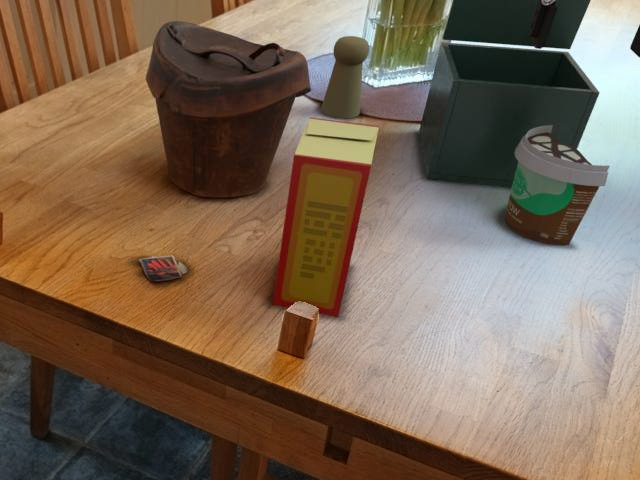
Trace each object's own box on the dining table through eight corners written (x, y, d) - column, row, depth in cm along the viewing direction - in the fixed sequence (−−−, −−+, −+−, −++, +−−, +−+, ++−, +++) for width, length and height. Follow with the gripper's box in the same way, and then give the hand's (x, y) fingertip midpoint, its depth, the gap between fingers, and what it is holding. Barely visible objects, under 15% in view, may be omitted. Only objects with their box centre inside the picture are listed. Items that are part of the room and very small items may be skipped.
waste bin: (559, 192, 93) (600, 92, 84) (426, 178, 95) (453, 80, 87) (535, 142, 105) (568, 51, 97) (418, 131, 108) (441, 42, 100)
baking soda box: (338, 316, 70) (371, 162, 60) (272, 304, 72) (294, 151, 62) (348, 268, 77) (379, 122, 67) (288, 257, 79) (310, 113, 69)
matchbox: (154, 286, 74) (154, 282, 73) (131, 262, 77) (131, 258, 77) (193, 275, 75) (193, 271, 75) (169, 252, 79) (170, 248, 79)
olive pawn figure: (330, 101, 117) (343, 29, 110) (365, 110, 114) (380, 37, 107) (314, 112, 113) (326, 38, 106) (350, 121, 110) (364, 46, 104)
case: (315, 205, 89) (341, 53, 77) (155, 215, 86) (158, 59, 74) (274, 147, 102) (291, 11, 91) (135, 154, 99) (134, 14, 88)
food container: (475, 203, 90) (500, 124, 84) (521, 201, 90) (550, 123, 84) (524, 253, 80) (557, 169, 74) (575, 251, 81) (612, 167, 75)
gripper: (570, -160, 61) (503, 52, 71) (796, -150, 58) (691, 68, 69) (551, -165, 66) (492, 32, 77) (757, -156, 64) (666, 47, 75)
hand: (586, 49), depth 73 cm, fingers open, 9 cm apart
